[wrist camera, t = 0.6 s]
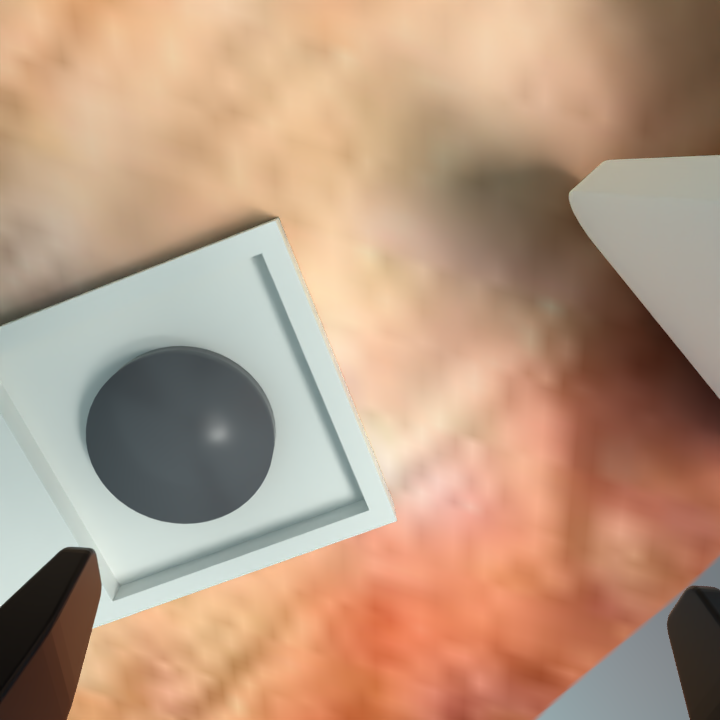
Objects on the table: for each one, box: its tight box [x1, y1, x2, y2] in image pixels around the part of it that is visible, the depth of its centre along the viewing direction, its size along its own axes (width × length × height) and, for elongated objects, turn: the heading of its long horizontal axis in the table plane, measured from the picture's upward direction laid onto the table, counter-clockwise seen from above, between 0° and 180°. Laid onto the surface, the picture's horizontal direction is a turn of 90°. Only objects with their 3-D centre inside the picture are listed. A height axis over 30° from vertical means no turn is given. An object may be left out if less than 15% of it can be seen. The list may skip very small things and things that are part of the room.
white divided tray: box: [0, 217, 397, 629], centre depth 22 cm, size 12×23×2 cm, turn 110°
